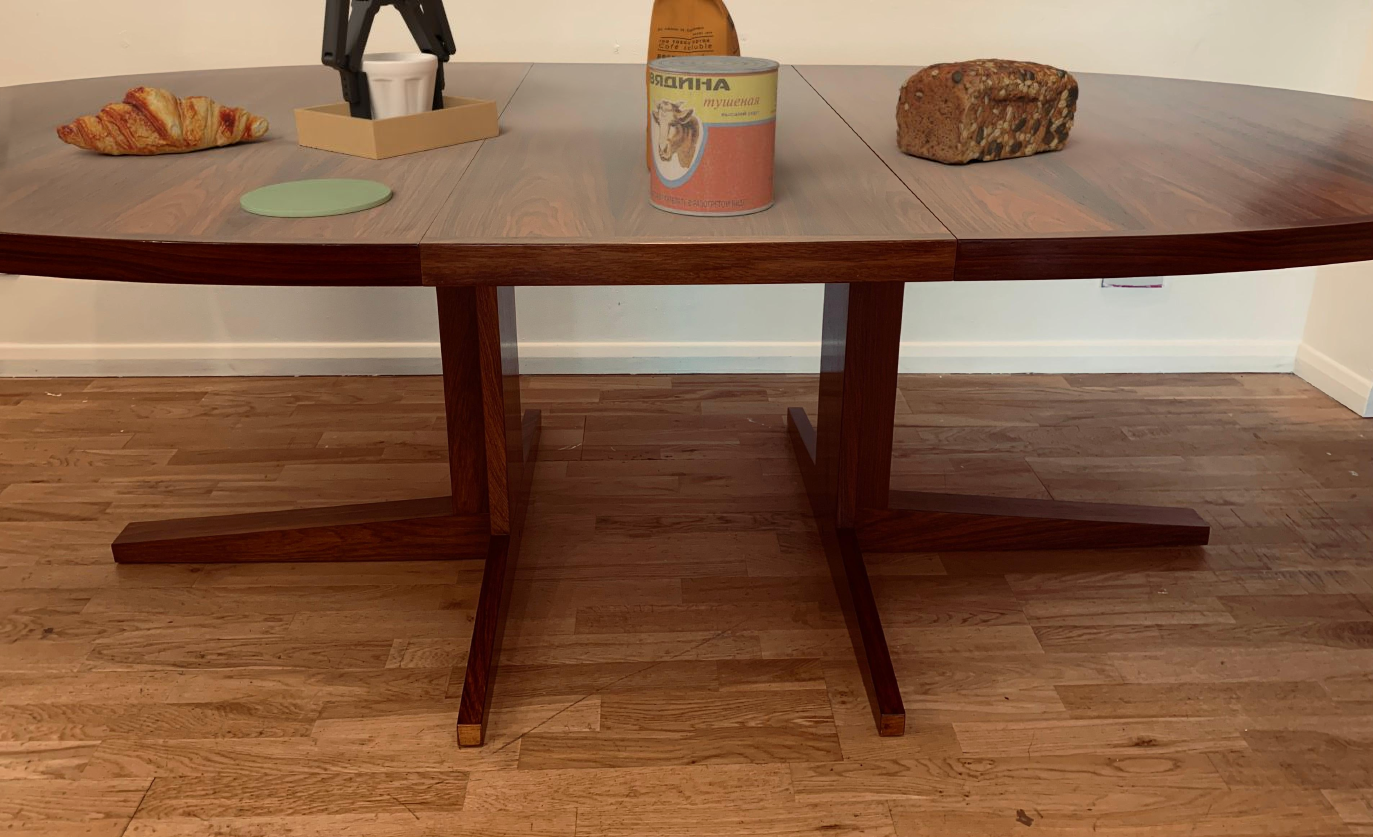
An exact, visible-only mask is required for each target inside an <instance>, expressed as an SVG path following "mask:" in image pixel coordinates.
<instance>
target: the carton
mask: <svg viewBox="0 0 1373 837" xmlns="http://www.w3.org/2000/svg"><path fill="white" fill-rule="evenodd" d="M442 96H443V107H444V109H440V110H434V111H428V112H421V113H415V114H409V115H403V116H396V117H390V118H384V119H378V120H368V119H362V118H355V117H351V114H350V107H349V102H345V101H343V102H342V101H341V102H335V103H328V104H321V105H313V106H307V107H300V108H293V114H294V121H295V127H296V133H297V138H298V139H297V140H298V145H299V146H300V145H302V146H301V147H306V146H307V147H306V148H311V147H312V149H316V148H317V149H316V150H321V151H327V152H332V151H333V152H332V153H338V154H343V153H344V155H349V156H355V157H359V158H366V159H370V160H376V161H378V160H382V159H388V158H392V157H397V156H403V155H408V154H415V153H419V152H423V151H429V150H433V149H438V148H443V147H445V148H446V147H450V146H455V145H460V144H464V143H471V142H475V141H480V140H484V139H490V138H495V137H500V133H499V118H498V106H497V101H495V100H487V99H481V98H480V99H479V98H472V97H465V96H464V97H463V96H456V95H449V94H442Z"/></svg>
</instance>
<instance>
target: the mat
mask: <svg viewBox="0 0 1373 837" xmlns="http://www.w3.org/2000/svg"><path fill="white" fill-rule="evenodd" d="M392 195H393V194H392V189H391V188H390V187H389V186H388V185H386V184H385V183H381V182H378V181H373V180H368V179H358V178H356V179H355V178H317V179H315V178H313V179H304V180H294V181H286V182H280V183H275V184H269V185H266V186H263V187H259V188H256V189H253V190H250V191H248V192H246V193H245V194H243V195H242V196H240V198H239V203H240V207H241V209H242V210H244V211H246V212H248V213H251V214H254V215H260V216H266V217H277V218H313V217H316V218H317V217H328V216H329V217H330V216H337V215H345V214H349V213H355V212H360V211H365V210H368V209H372V208H375V207H378V206H382V205H383V204H385V203H386V202H388V201H390V200H391V199H392Z"/></svg>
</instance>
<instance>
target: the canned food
mask: <svg viewBox="0 0 1373 837" xmlns="http://www.w3.org/2000/svg"><path fill="white" fill-rule="evenodd" d="M648 66H649V67H650V169H649V170H650V171H649V172H650V173H649V174H650V196H649V203H650V205H651V206H653V207H654V208H656V209H657V210H658V209H659V210H661V211H663V212H667V213H672V214H677V215H684V216H694V217H735V216H745V215H751V214H756V213H759V212H763V211H765V210H768V209H769V208H771V207H772V206H773V205H774V203H775V202H774V200H775V199H774V198H773V197H774V178H775V177H774V175H775V155H776V154H775V149H776V128H777V109H778V108H777V107H778V82H779V68H780V62H778V61H776V60H772V59H768V58H763V57H752V56H741V57H740V56H679V57H667V58H659V59H654V60H651V61H649V62H648Z"/></svg>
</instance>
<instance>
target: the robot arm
mask: <svg viewBox="0 0 1373 837" xmlns="http://www.w3.org/2000/svg"><path fill="white" fill-rule="evenodd" d="M389 5H390V6H393V8H394V9H395V10H396V11H397V12H399V14H400V16H401V18H402V19H403V21H404V23H405V25H406V28H407V29H408V31H409V33H410V34H411V36H412V38H413V40H414V42H415V44H416V45H417V46H416V47H418V49H419V52H420V53H425V54H432V55H435V56H437V59H438V68H437V71H436V79H435V88H434V96H433V104H432V111H434V110H440V109H444V107H443V96H442V95H443V91H445V88H446V80H445V69H444V64H446V63H449V61H450V60H451V56H455V55H456V53H457V46H456V43H455V40H454V37H453V36H454V35H453V33H452V30H451V26H450V23H449V20H448V15H447V13H446V9H445V6H444V2H443V0H325V7H324V20H323V32H322V43H321V44H322V46H321V55H320V62H321V64H322V65H323V66H325V67H330V68H332V69H333V70H334V71H338V72H339V76H340V83H341V91H342V98H343V101H344V102H349V107H350V114H351V117H355V118H362V119H368V120H372V115H371V107H370V99H369V91H368V83H367V75H366V72H362V71H358V70H359V67H360V64H361V60H362V57H363V54H365V51H366V46H367V43H368V41H369V37H370V33H371V30H372V26H373V23H374V20H375V16H376V15H377V14H379V12H380V10H381V7H387V6H389ZM350 7H351V12H350Z"/></svg>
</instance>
